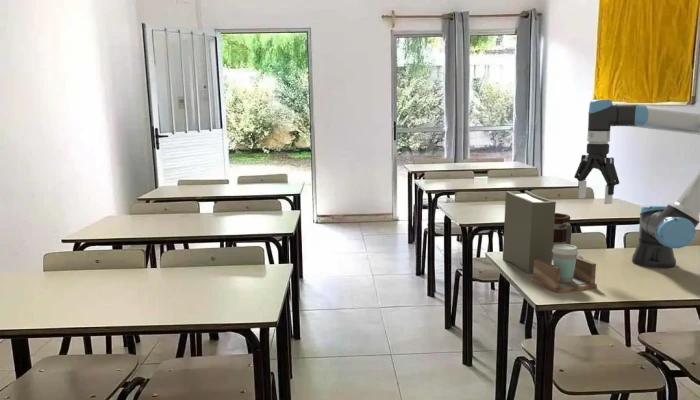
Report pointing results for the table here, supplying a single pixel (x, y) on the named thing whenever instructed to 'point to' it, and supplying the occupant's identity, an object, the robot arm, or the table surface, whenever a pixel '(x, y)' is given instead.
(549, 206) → the book
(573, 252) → the coffee cup
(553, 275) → the holder
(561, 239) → the mug
